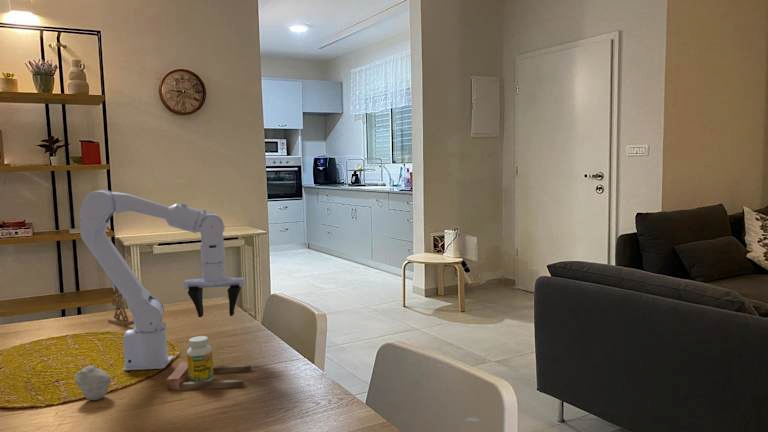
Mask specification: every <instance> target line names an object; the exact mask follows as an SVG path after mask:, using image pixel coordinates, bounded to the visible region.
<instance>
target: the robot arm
mask: <svg viewBox="0 0 768 432" xmlns="http://www.w3.org/2000/svg"><path fill="white" fill-rule="evenodd" d="M130 211H131V212H134V213H139V214H143V215H147V216H151V217H154V218H159V219H163V220H165V221H166V222H167V224H168V226H169V227H172V228H174V229H178V230H179V229H180V230H182V231H185V232H186V231H187V232H189V233H192V234H193V233H194V234H197V233H200V238H201V243H200V245H199V246H200V260H201V261H200V263H201V276H202V277H201V278H195V279H185V280H184V281H183V289H184V290H188V291H187V295H188V296H189V298H190V299H191V302H192V303H193V305H194V306H195V309H196V313H197V317H198V318H202V317H203V316H204V305H203V289H204V288H205V289H206V288H228V289H227V295H228V305H229V306H228V307H229V309H228V311H229V316H230V317H233V316H234V315H235V308H236V304H237V300H238V298H239V297H238V296H239V295H240V292H241V289H242V287H245V285H246V281H245V280H246V279H245V277H233V276H232V277H231V276H229V277H228V276H227V267H226V266H227V265H226V248H225V245H226V244H225V242H224V237H225V236H224V231H225V225H224V224H225V223H224V221H223V219H222V218H221V216H220V215H218V214H217V213H214V212H212V211H211V212H207V209H202V210H200V209H197V208H193V207H190V206H188V204H187V202H181V204H180V203H174V204H172V205H170V206H168V205H164V204H161V203H158V202H155V201H152V200H148V199H145V198H143V197H139V196H136V195H133V194H131V193H130V194H129V193H124V192H119V191H111V190H108V189H100V190H99V189H98V190H95V191H90V192H89V193H88V194H87V195H86V196H85V197H84V198H83V200H82V202H81V205H80V208H79V211H78V212H79V217H80V220H79V221H80V223H79V224H80V226H79V227H80V229H79V232H80V233H79V234H80V238H81V240H82V241H83V243H84V244H85V245H86V247H87V248H88V250H89V251H90V252H91V254H92V255H93V257H94V258H95V259H96V261H97V262H98V264H99V265H100V267H102V269H103V270H104V272H105V274H106V275H107V276H108V278H109V279H110V280H111V282H112V283H113V285H114V287H115V286H116V287H117V289H118V290H119V293H121V294H122V296H123V297H122V298H124V300H126V302H125V303H126V306H127V307H128V308H127V309H128V310H129V311H130V313H131V315H132V318H133V321H134V324H133V325H134V328H133V329H132V328H131V329H127V330H126V331H125V333H124V335H123V338H122V339H123V341H122V350H123V362H124V367H123V371H138V370H141V371H142V370H159V369H160V370H162V369H165V368H166V367H167V366H168V364H170V362H171V361H172V360H173V359H174V355H168V354H169V353H168V352H169V351H168V339H167V324H166V323H165V322H164V321H163V315H164V312H165V306H164V304H163V302H162V301H161V300H160V299H158V298H156V297H154V296H153V295H152V294H151V292H150V291H149V290H148V289H147V288H146V287H144V285H143V284H142V282H141V281H140V280H139V278H138V277H137V276H136V274H135V273H134V271H133V269H132V268H131V267H130V266H129V264H128V263H127V261H126V260H125V258H124V257H123V256H122V254H121V253H120V252H119V250H118V248H117V247H116V245H115V244H114V243H113V242H112V240H111V239H110V238H109V236H108V235H107V229H108V225H109V222H110V219H111V217H112V216H113V215H114V214H120V213H124V212H130Z"/></svg>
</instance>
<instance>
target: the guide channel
mask: <svg viewBox="0 0 768 432" xmlns="http://www.w3.org/2000/svg"><path fill="white" fill-rule="evenodd" d="M251 371H252V364H238V365H237V364H236V365H216V366H214V365H213V374H221V373H222V374H226V373H247V372H251ZM187 380H189V376H188V362H187V361H181V362H180V363H179V365H177V366H176V368H175V369H174V370H173V371H172V372H171V374H170V375H169V376H168V377H167V379H166V386H167V391H185V390H186V391H187V390H206V389H209V390H210V389H226V388H228V389H229V388H230V387H231V388H243V387H244V386H245V385H244V384H245V379H227V380H226V379H225V380H223V379H221V380H211V381H200V382H189V381H187Z"/></svg>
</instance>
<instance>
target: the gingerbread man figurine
mask: <svg viewBox="0 0 768 432" xmlns="http://www.w3.org/2000/svg"><path fill="white" fill-rule="evenodd" d="M114 287H115V288H114V292H115V294H114V295H113V296H112V298H111V304H112V306H116V308H115V311H114V316H113V317H111V318H108V319H107V322H108V323H110V324H114V325H117V326H123V327H126V326H129V325H135V324H134V321H133V319H132V318H129V317H128V314H127V312H126V309H125V303H127V302H126V300H125V299H124V300H123V298H124V297H123V296H122V294H121V293H120V291H119V290H118V289H117V287H116V286H115V285H114ZM115 298H117V299H115ZM119 309H120V310H119Z"/></svg>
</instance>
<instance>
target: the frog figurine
mask: <svg viewBox="0 0 768 432" xmlns="http://www.w3.org/2000/svg"><path fill="white" fill-rule="evenodd" d="M74 379H75V383H76V386H77V387H78V388H79V390H80V391H81V392H82V395H83V396H84V398H86V399H87V400H91V401H97V400H100V399H102V398H104V397H105V396H106V395H107V393H108V391H109V387H110V385H111V383H112V378H111V374H109V373H107V372H106V371H105V370H103V369H101V368H97V366H94V365H87V366H85V367H83V368H82V369H81V370H80V371H77V373H75V375H74Z"/></svg>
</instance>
